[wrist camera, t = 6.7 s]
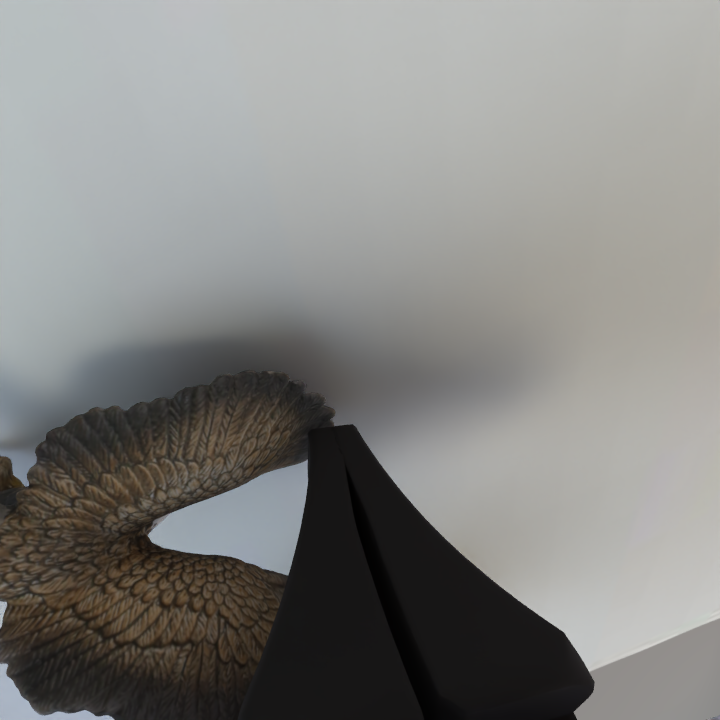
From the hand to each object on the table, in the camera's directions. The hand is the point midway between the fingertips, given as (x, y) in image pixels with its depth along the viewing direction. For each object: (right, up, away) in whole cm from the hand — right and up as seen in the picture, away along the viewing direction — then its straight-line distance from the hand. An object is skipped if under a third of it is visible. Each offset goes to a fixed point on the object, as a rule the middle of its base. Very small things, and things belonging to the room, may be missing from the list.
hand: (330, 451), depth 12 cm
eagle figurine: (-5, 0, 0) cm, 5 cm away
